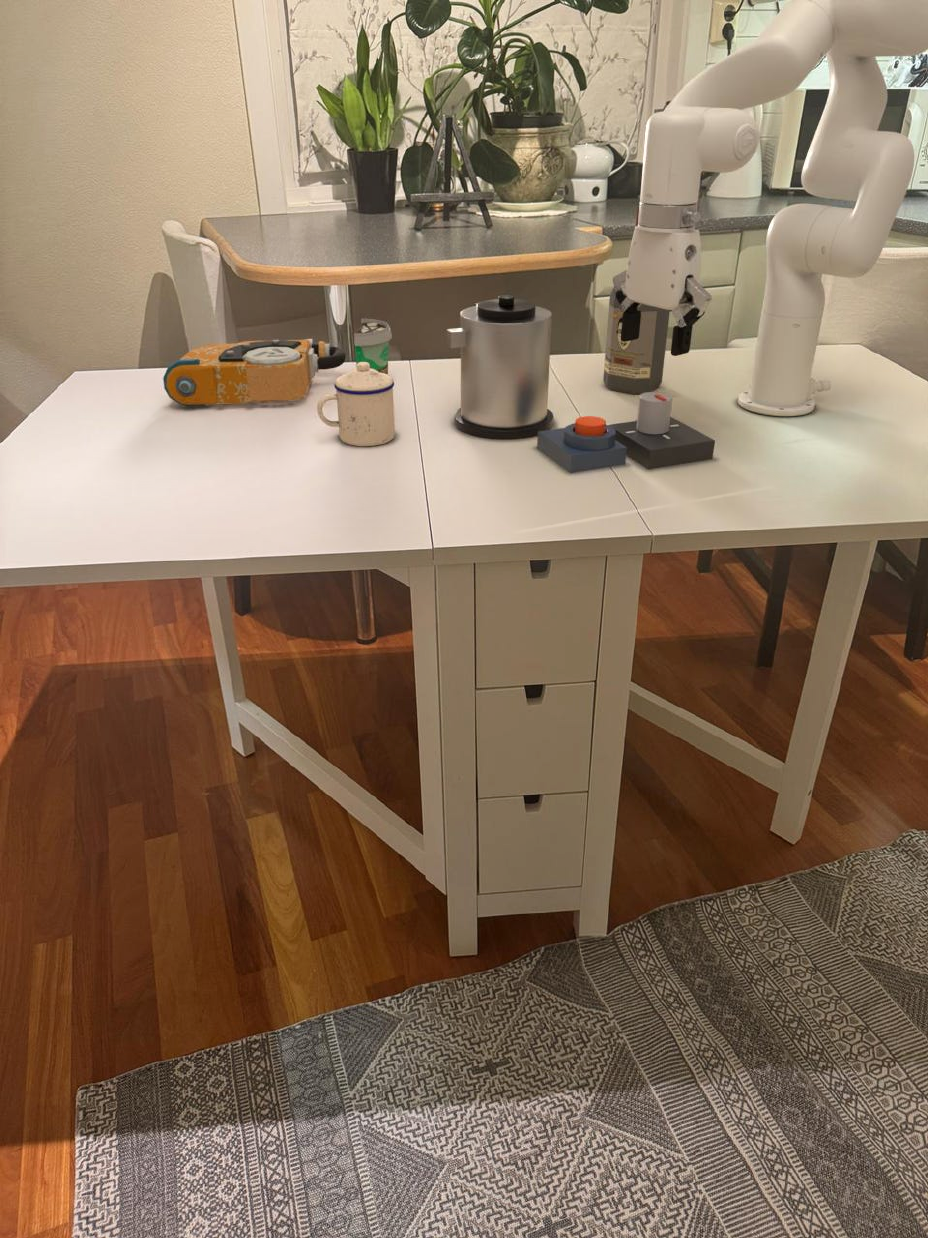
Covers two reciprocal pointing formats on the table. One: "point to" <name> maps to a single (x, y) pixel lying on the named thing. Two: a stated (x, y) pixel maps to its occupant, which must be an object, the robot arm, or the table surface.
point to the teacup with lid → (363, 407)
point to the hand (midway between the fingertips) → (654, 346)
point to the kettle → (503, 369)
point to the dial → (654, 413)
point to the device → (249, 371)
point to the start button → (590, 426)
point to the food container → (373, 344)
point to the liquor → (635, 349)
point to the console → (664, 445)
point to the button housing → (581, 449)
